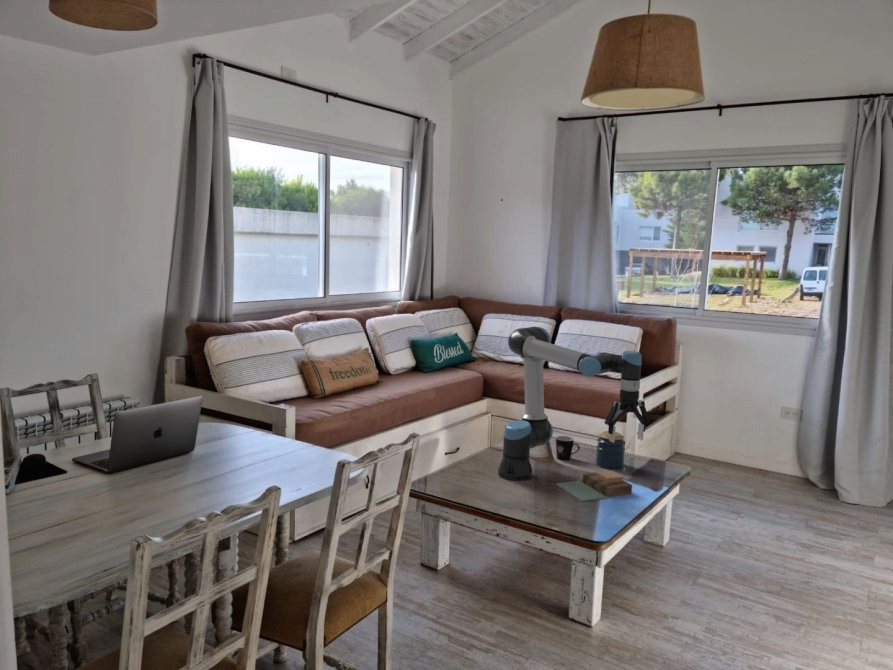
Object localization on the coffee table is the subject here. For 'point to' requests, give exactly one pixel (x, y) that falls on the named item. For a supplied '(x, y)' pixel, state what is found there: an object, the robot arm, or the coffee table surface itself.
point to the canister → (610, 451)
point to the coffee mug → (564, 447)
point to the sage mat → (581, 491)
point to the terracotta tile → (609, 476)
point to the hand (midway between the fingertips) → (626, 440)
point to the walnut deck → (607, 486)
